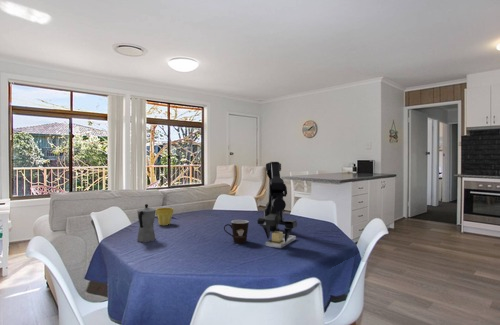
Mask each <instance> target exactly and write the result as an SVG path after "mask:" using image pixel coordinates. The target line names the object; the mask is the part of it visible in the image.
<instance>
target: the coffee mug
mask: <svg viewBox="0 0 500 325" xmlns="http://www.w3.org/2000/svg"><path fill="white" fill-rule="evenodd" d="M223 226H224V227H223V230H224V232H225V233H226V234H227V235H229V236H231V237H232V241H233V243H235V244H246V242H247V239H248V231H249V220H246V219H234V220H231V224H229V223H228V224H227V223H226V224H225V225H223ZM227 226H229V227H230V228H231V230H232V233H229V232H228V231H227V230H226V227H227Z"/></svg>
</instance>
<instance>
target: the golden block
mask: <svg viewBox="0 0 500 325" xmlns="http://www.w3.org/2000/svg"><path fill="white" fill-rule="evenodd" d="M283 234H284V232H283V231H280V230H279V231H278V230H275V231H271V239H272V242H274V243H281V242H283Z"/></svg>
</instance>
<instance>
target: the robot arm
mask: <svg viewBox="0 0 500 325" xmlns="http://www.w3.org/2000/svg"><path fill="white" fill-rule="evenodd" d="M281 171H282V163H280V162H279V161H270V162H268V163H266V164H265V172H266V175H267V177H268V202H267V203H266V205H265V208H264V214H263V216H260V217H258V218H257V225H259V227H262V228H263V230H264V232H265V236H266V238H267V239H268V240H270V234H271V232H274V231H278V230H279V226H280V225H281V226H284V228H283V229H284V234H285V242H286V241H287V239H288V236H289V235H291V232H292V230H293V229H295V228H296V227H298V221H297V220H296V219H295V220H294V219H288V220H285V217H284V212H285V209H286V206H287V204H286V201H285V199H284V197H287V196H288V188H287V185H286V183H285V182H284V178H281Z"/></svg>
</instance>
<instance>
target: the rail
mask: <svg viewBox="0 0 500 325" xmlns="http://www.w3.org/2000/svg"><path fill="white" fill-rule="evenodd" d="M296 239H297V235H292V234H289V236H288V239H287V241H286V242H285V233H283V242H281V243H274V242H272V238H269V239H268V240H267V241H265V247H270V248H271V247H272V248H276V249H283V248H284V247H285V246H288V245H289V244H291V243H292V242H294V241H296Z"/></svg>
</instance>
